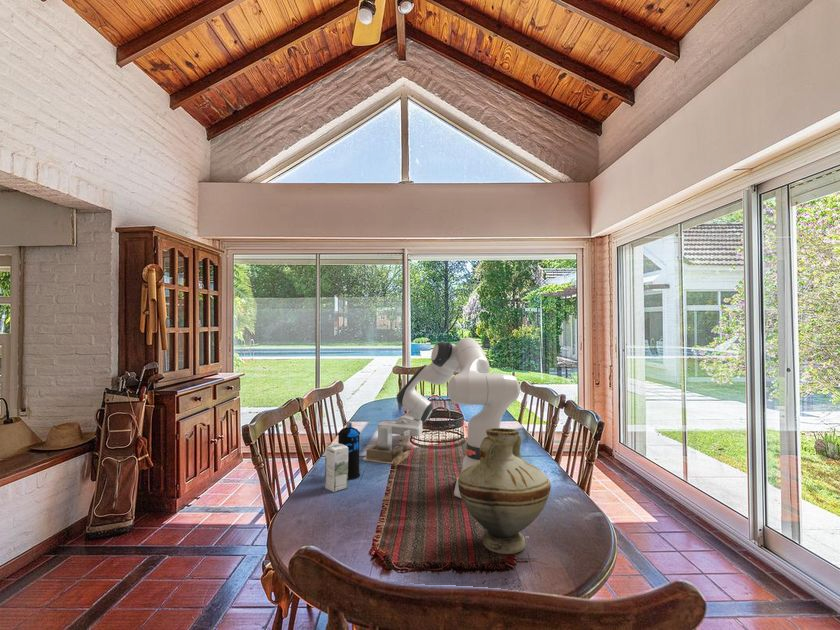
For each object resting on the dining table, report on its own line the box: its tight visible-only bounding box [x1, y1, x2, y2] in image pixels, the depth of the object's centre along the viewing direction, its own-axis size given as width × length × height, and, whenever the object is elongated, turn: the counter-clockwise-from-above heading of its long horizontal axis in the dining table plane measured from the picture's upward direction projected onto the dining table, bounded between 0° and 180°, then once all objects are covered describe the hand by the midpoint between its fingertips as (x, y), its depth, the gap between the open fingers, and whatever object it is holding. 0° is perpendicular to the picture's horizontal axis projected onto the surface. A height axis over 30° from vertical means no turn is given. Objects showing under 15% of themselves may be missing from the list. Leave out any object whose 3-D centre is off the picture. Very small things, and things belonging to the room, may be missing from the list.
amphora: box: [457, 427, 552, 555], centre depth 118 cm, size 24×24×30 cm
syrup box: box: [324, 443, 349, 493], centre depth 155 cm, size 6×6×14 cm
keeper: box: [361, 442, 405, 465], centre depth 190 cm, size 14×14×4 cm
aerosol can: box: [337, 420, 361, 481], centre depth 167 cm, size 8×8×20 cm
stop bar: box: [377, 425, 393, 451], centre depth 190 cm, size 4×4×12 cm
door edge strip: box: [392, 449, 411, 467], centre depth 186 cm, size 16×1×2 cm, turn 159°
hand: (392, 433), depth 198 cm, fingers open, 8 cm apart
